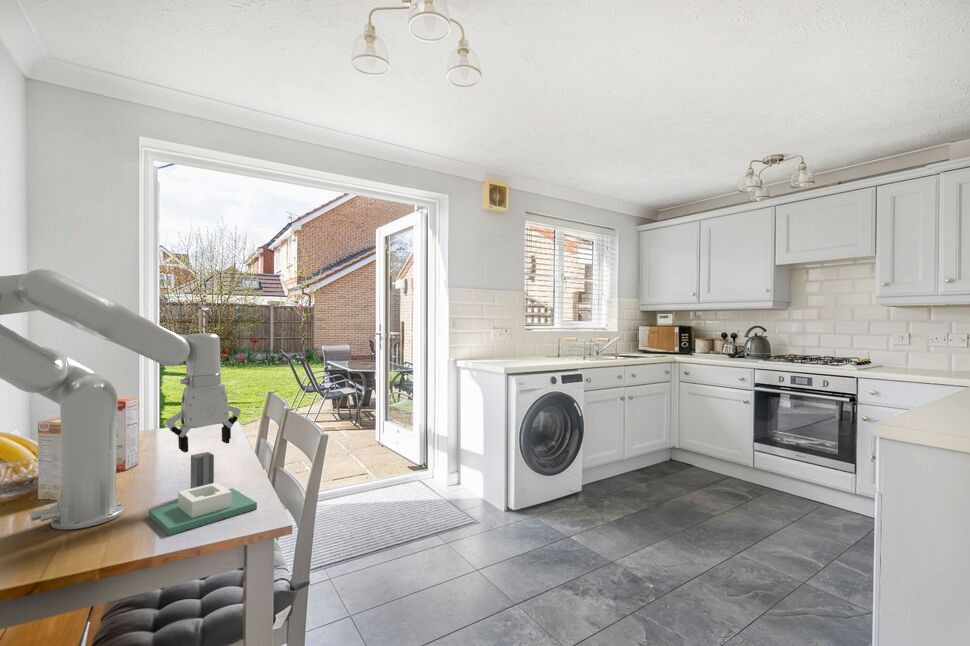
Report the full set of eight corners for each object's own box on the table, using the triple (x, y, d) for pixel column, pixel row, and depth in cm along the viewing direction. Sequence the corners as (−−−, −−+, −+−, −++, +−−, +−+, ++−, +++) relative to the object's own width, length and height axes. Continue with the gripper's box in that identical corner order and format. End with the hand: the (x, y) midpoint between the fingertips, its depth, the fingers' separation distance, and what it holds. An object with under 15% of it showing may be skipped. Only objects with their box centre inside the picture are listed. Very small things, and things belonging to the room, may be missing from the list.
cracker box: (75, 471, 134) (75, 400, 134) (92, 465, 140) (92, 396, 140) (124, 471, 135) (124, 400, 134) (139, 465, 141) (139, 396, 140)
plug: (197, 498, 116) (197, 458, 116) (190, 493, 119) (190, 455, 119) (214, 493, 119) (214, 455, 119) (207, 489, 122) (207, 451, 122)
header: (192, 518, 101) (192, 502, 101) (177, 506, 107) (178, 491, 107) (231, 506, 108) (231, 491, 108) (216, 496, 113) (216, 482, 113)
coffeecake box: (93, 478, 129) (94, 409, 128) (116, 480, 128) (117, 410, 128) (35, 499, 114) (36, 420, 114) (61, 501, 113) (61, 422, 113)
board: (169, 535, 96) (169, 528, 96) (148, 516, 105) (148, 509, 105) (256, 508, 110) (256, 502, 110) (232, 493, 119) (232, 488, 119)
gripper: (169, 387, 110) (171, 458, 110) (245, 378, 123) (246, 441, 124) (159, 384, 115) (161, 452, 115) (233, 375, 128) (234, 437, 128)
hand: (205, 446), depth 119 cm, fingers open, 9 cm apart
